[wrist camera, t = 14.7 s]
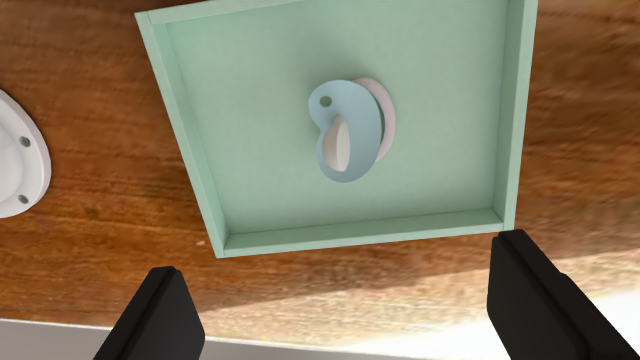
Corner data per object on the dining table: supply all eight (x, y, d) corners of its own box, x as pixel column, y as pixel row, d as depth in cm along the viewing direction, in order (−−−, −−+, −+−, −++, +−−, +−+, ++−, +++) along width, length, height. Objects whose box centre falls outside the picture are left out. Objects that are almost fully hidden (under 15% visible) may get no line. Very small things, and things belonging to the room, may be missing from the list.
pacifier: (391, 65, 25) (304, 78, 25) (411, 83, 19) (300, 99, 20) (396, 162, 28) (320, 172, 28) (415, 202, 22) (319, 214, 23)
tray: (226, 237, 33) (216, 258, 30) (155, 11, 24) (133, 13, 22) (497, 210, 30) (513, 230, 28) (519, -49, 22) (544, -56, 20)
